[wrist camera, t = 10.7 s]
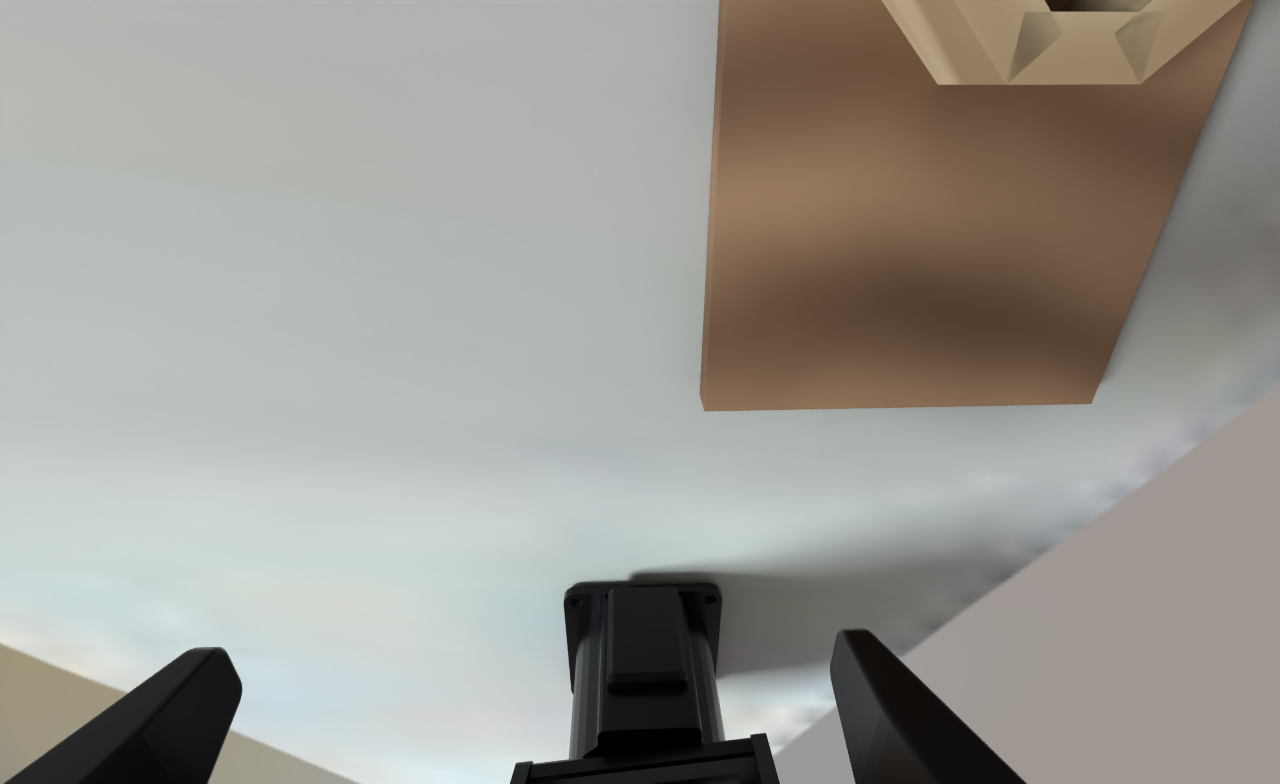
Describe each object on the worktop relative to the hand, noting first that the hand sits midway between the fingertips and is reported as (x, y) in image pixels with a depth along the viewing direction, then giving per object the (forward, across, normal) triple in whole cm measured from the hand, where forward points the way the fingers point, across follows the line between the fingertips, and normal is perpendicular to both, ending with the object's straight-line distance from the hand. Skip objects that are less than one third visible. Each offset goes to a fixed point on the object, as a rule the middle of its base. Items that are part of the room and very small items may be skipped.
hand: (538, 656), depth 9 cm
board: (+12, -10, -7) cm, 17 cm away
